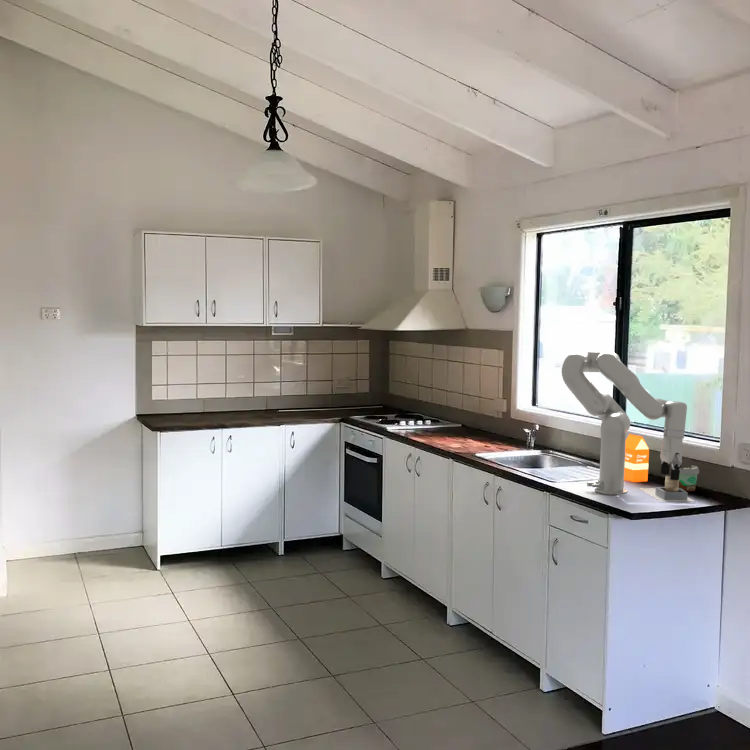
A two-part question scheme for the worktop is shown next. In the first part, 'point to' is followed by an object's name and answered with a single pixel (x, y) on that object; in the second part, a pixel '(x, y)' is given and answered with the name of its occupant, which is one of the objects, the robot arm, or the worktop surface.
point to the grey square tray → (671, 494)
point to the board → (652, 492)
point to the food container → (688, 478)
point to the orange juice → (636, 459)
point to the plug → (671, 485)
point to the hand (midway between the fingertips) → (669, 476)
